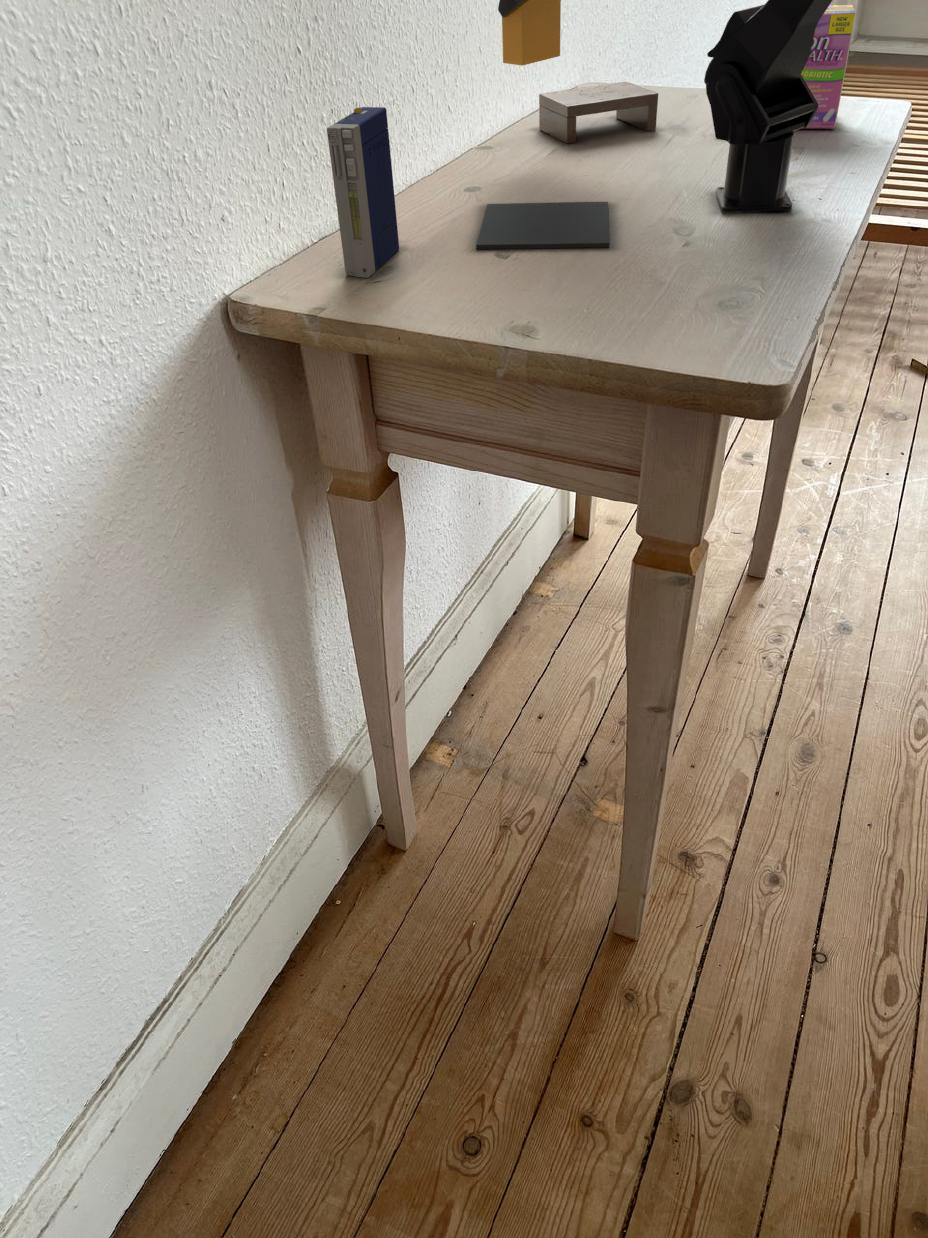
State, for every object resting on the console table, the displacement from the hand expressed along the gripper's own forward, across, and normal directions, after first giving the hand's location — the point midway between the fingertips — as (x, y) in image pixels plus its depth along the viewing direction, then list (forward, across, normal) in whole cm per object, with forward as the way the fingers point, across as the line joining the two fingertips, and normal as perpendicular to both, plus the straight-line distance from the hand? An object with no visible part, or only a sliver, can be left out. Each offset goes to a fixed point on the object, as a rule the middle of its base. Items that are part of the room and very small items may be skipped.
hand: (522, 8), depth 100 cm
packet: (+2, 0, +4) cm, 5 cm away
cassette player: (0, +34, +20) cm, 40 cm away
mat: (-4, +18, +24) cm, 30 cm away
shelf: (+10, -13, +10) cm, 19 cm away
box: (-2, -28, +23) cm, 36 cm away
